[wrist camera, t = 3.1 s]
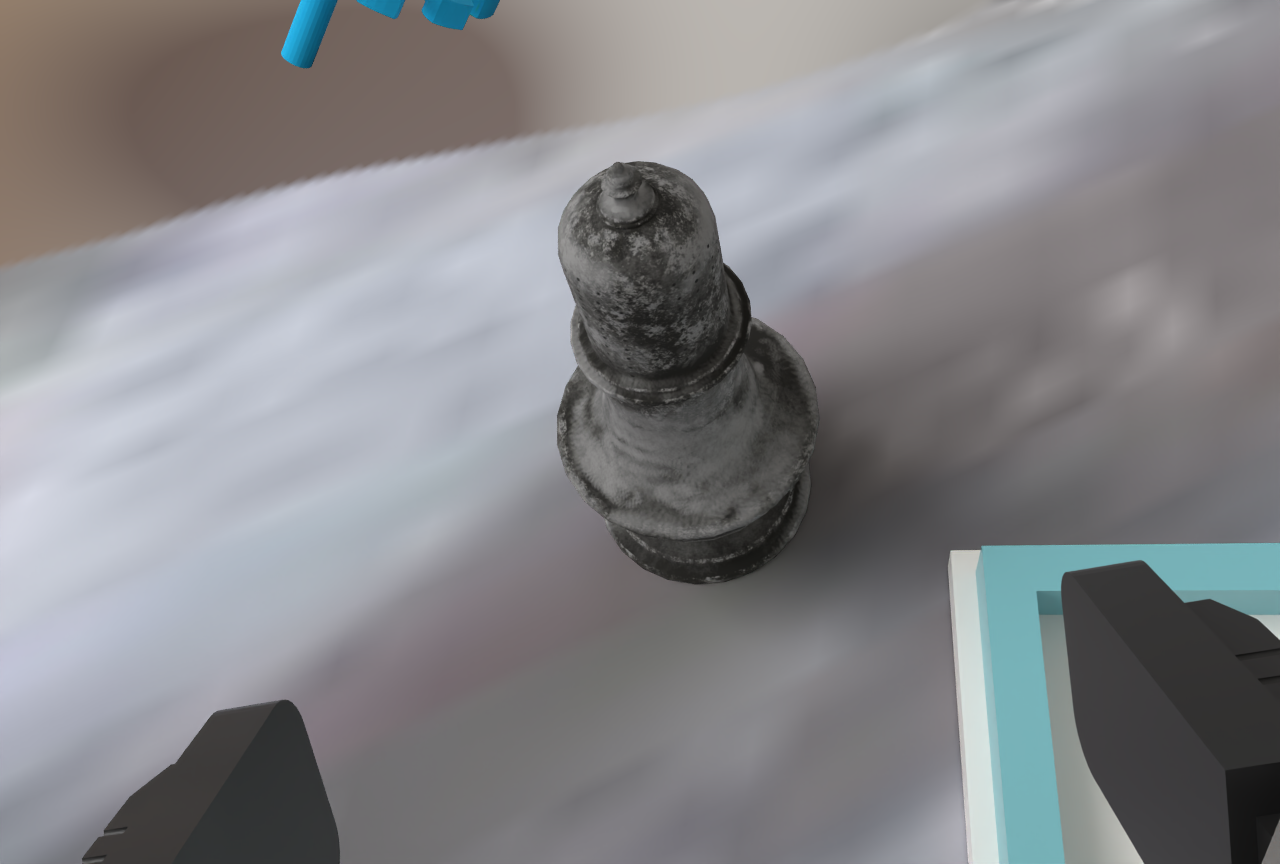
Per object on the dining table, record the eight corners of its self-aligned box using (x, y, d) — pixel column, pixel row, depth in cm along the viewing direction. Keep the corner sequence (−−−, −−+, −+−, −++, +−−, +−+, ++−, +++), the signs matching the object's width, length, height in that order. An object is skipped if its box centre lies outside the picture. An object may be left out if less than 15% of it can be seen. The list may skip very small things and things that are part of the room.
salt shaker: (574, 591, 28) (407, 321, 18) (601, 380, 31) (470, 38, 20) (820, 600, 27) (796, 318, 17) (826, 381, 30) (808, 19, 19)
